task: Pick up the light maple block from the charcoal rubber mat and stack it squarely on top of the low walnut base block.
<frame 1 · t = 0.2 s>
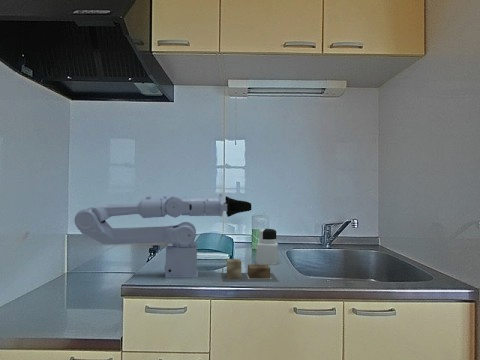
hand: (250, 206, 143), 21 cm above the countertop, tool horizontal, fingers open, 7 cm apart
walnut base: (258, 276, 141), resting on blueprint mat
maple block: (233, 277, 139), resting on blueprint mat
medicine bottle: (267, 264, 164), on the countertop
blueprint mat: (248, 278, 139), on the countertop
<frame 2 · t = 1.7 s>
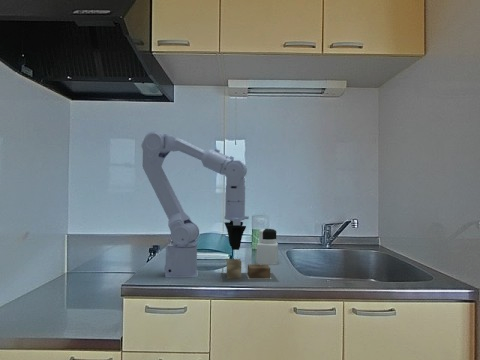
hand: (234, 247, 139), 9 cm above the countertop, tool pointing down, fingers open, 7 cm apart
nothing on the countertop moved.
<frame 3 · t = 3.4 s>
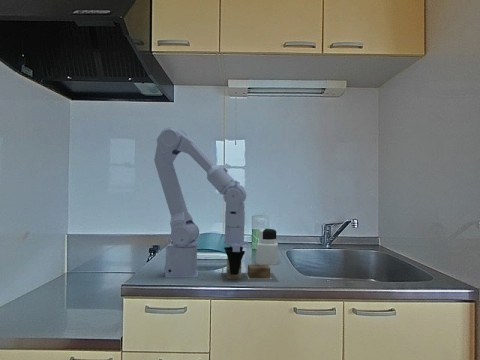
hand: (233, 272, 139), 2 cm above the countertop, tool pointing down, fingers closed on maple block, 4 cm apart
maple block: (233, 277, 139), resting on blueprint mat, touching gripper
everything else where it was.
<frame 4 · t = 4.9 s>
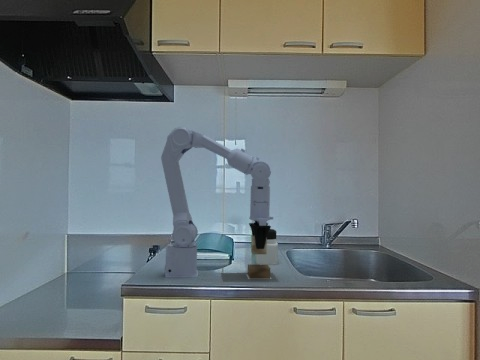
hand: (259, 247, 141), 9 cm above the countertop, tool pointing down, fingers closed on maple block, 4 cm apart
maple block: (258, 253, 141), point 7 cm above the countertop, touching gripper
everything else where it was.
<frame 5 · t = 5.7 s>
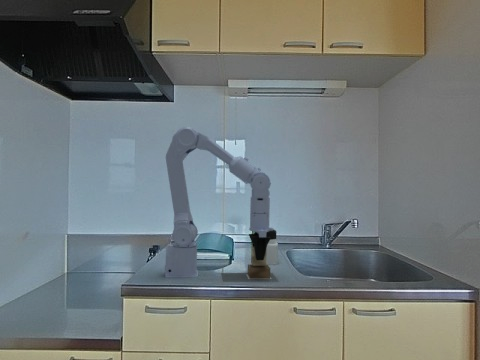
hand: (258, 258, 141), 6 cm above the countertop, tool pointing down, fingers closed on maple block, 4 cm apart
maple block: (258, 264, 141), point 4 cm above the countertop, touching gripper
everything else where it was.
when the fingers open (6 cm above the countertop, at t = 6.3 s): maple block stays where it is, resting on walnut base.
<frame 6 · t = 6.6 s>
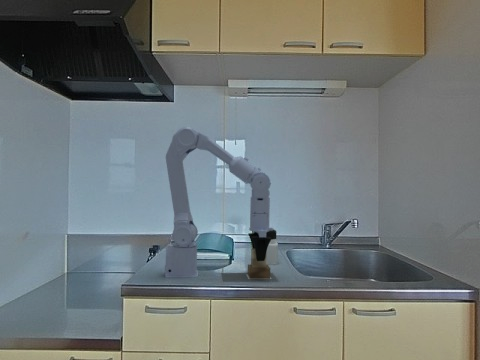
hand: (258, 258, 141), 6 cm above the countertop, tool pointing down, fingers open, 7 cm apart
walnut base: (258, 276, 141), resting on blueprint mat, touching maple block
maple block: (258, 266, 141), point 3 cm above the countertop, touching walnut base
everything else where it was.
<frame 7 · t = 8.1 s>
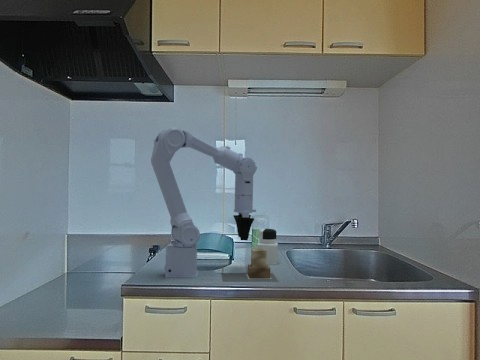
hand: (242, 238, 149), 10 cm above the countertop, tool pointing down, fingers open, 7 cm apart
nothing on the countertop moved.
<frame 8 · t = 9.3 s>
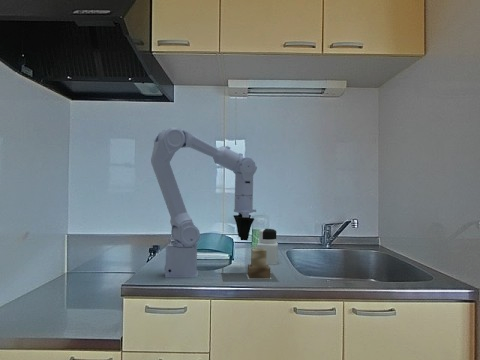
hand: (242, 238, 149), 10 cm above the countertop, tool pointing down, fingers open, 7 cm apart
nothing on the countertop moved.
at the end: maple block 0.1 cm off-centre on the walnut base, point 3.0 cm above the walnut base's base; maple block tilted 0°; walnut base moved 0.0 cm from its start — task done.
